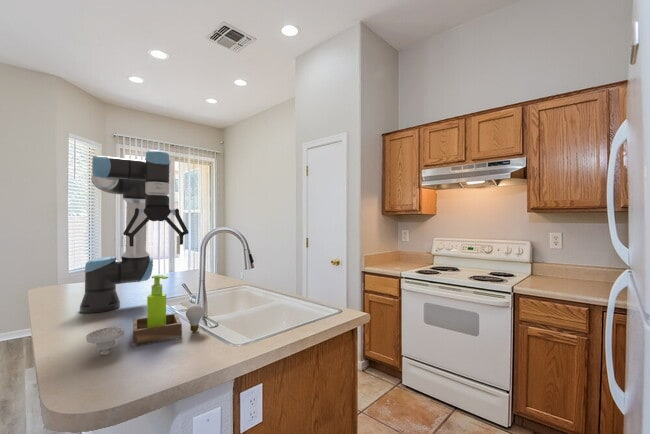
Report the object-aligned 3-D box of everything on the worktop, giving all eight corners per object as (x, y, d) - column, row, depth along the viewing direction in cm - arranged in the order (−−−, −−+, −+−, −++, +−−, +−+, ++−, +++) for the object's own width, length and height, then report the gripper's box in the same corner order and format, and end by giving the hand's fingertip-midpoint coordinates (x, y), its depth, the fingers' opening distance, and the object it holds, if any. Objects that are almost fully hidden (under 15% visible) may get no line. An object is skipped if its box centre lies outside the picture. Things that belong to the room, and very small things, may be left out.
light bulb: (182, 332, 114) (183, 304, 114) (198, 327, 118) (198, 301, 119) (190, 336, 110) (190, 307, 110) (206, 331, 114) (206, 304, 115)
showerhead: (111, 335, 91) (78, 335, 91) (111, 360, 91) (77, 360, 91) (132, 324, 100) (102, 324, 101) (132, 347, 100) (101, 347, 101)
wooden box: (132, 333, 113) (132, 319, 113) (176, 326, 121) (176, 313, 121) (132, 346, 101) (132, 331, 101) (181, 338, 108) (181, 323, 108)
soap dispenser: (160, 336, 107) (160, 277, 108) (143, 334, 109) (143, 276, 109) (172, 330, 113) (172, 274, 113) (155, 328, 114) (155, 274, 115)
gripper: (114, 192, 102) (114, 258, 101) (196, 195, 115) (196, 253, 114) (115, 194, 108) (115, 255, 108) (193, 197, 121) (193, 252, 121)
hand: (157, 255), depth 111 cm, fingers open, 13 cm apart
